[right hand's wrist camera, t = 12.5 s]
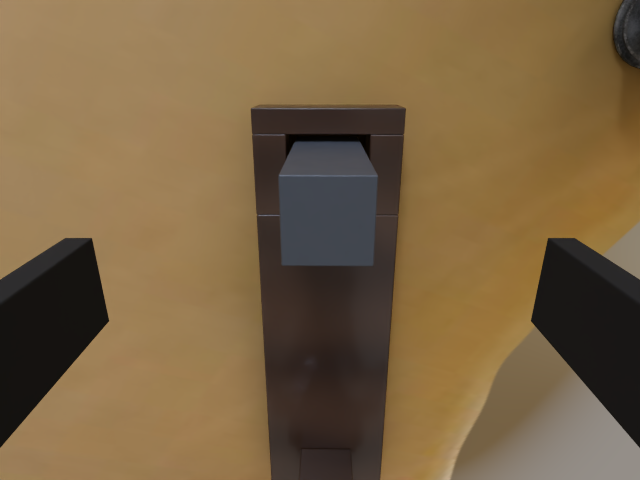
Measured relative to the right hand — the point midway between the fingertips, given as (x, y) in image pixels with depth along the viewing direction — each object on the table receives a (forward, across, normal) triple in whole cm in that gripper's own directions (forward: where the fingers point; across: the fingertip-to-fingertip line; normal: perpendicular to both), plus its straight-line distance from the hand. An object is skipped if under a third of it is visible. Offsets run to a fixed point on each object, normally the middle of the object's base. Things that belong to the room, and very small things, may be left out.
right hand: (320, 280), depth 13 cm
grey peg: (+18, 0, 0) cm, 18 cm away
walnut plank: (+17, 0, +12) cm, 21 cm away
